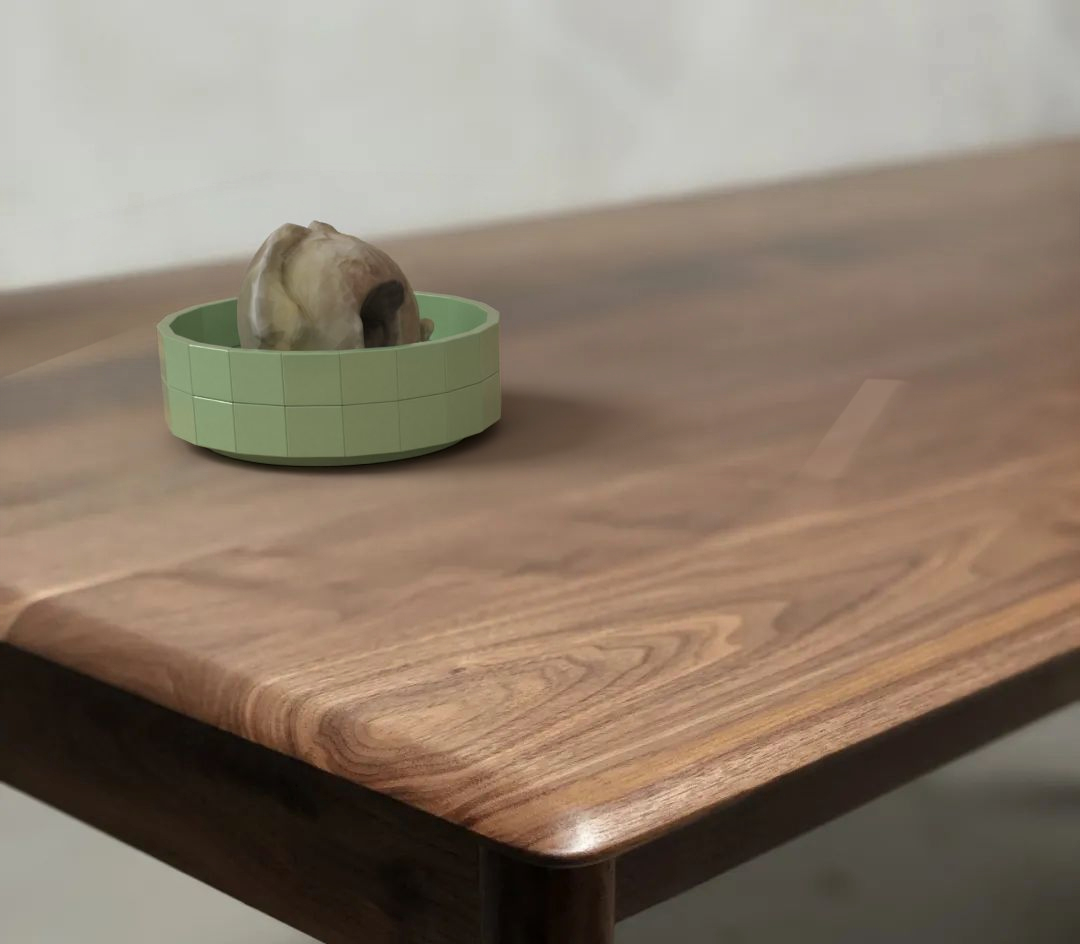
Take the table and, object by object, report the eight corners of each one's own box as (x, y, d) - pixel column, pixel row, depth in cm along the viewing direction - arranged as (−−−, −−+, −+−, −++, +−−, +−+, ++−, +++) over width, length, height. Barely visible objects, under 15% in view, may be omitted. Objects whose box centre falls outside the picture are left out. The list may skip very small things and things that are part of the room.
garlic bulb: (272, 482, 88) (187, 292, 82) (277, 412, 95) (198, 232, 89) (459, 419, 87) (385, 222, 82) (449, 352, 94) (381, 167, 89)
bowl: (105, 460, 86) (93, 342, 84) (259, 385, 100) (252, 282, 98) (430, 486, 81) (426, 362, 79) (544, 404, 95) (543, 296, 93)
